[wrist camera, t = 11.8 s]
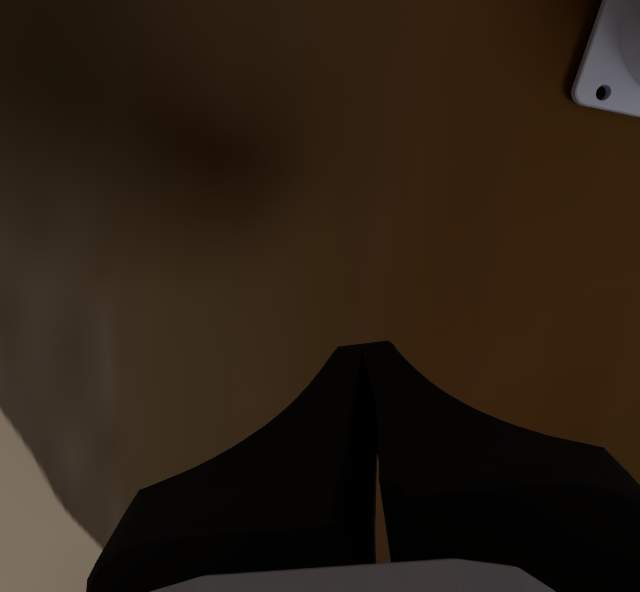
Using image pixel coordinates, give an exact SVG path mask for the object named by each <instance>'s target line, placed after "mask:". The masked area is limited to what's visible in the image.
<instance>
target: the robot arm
mask: <svg viewBox="0 0 640 592" xmlns="http://www.w3.org/2000/svg"><path fill="white" fill-rule="evenodd" d="M600 86H602V87H604V88H605V91H606V92H605V96H604V98H603V99H602V100H599V99H597V97H596V91H597V89H598V88H599V87H600ZM571 95H572V99H573V100H574V102H575V103H577V104H579V105H582V106H587V107H592V108H596V109H601V110H606V111H611V112H616V113H620V114H625V115H630V116H635V117H640V0H602V3H601V6H600V9H599V11H598V14H597V17H596V20H595V23H594V26H593V29H592V32H591V35H590V37H589V40H588V43H587V46H586V49H585V52H584V55H583V58H582V61H581V63H580V66H579V69H578V72H577V75H576V78H575V81H574V84H573V87H572V91H571ZM377 455H378V459H379V482H380V489H381V496H382V503H383V510H384V516H385V523H386V530H387V537H388V544H389V550H390V557H391V562H390V563H376V551H375V517H376V471H377ZM86 592H640V485H639V484H638V483H637V482H636V481H635V479H634V478H633V477H632V476H631V475H630V474H629V473H628V472H627V471H626V470H625V469H624V468H623V467H622V466H621V465H620V464H619V463H618V462H617V461H616V460H615V459H614V458H613V457H612V456H611V455H610V454H609V453H608V451H607V450H606V449H605V448H603V447H598V446H594V445H589V444H584V443H580V442H575V441H570V440H566V439H561V438H557V437H552V436H548V435H544V434H541V433H538V432H535V431H531V430H528V429H525V428H522V427H518V426H515V425H513V424H510V423H507V422H504V421H502V420H499V419H497V418H495V417H492V416H490V415H488V414H485V413H483V412H481V411H478V410H476V409H474V408H472V407H470V406H468V405H466V404H464V403H463V402H461V401H459V400H457V399H456V398H454V397H452V396H450V395H449V394H447V393H445V392H444V391H442V390H441V389H439V388H438V387H437V386H435V385H434V384H433V383H431V382H430V381H429V380H428V379H426V378H425V377H424V376H423V375H422V374H421V373H420V372H418V371H417V370H416V369H415V368H414V367H413V366H412V365H411V364H410V363H409V362H408V361H407V360H406V359H405V358H404V357H403V356H402V355H401V354H400V353H399V352H398V350H397V349H396V348H395V347H394V345H393V344H392V343H391V342H389V341H381V342H373V343H365V344H356V345H348V346H340V347H337V349H336V350H335V351H334V352H333V354H332V355H331V356H330V358H329V359H328V361H327V362H326V363H325V365H324V366H323V367H322V369H321V370H320V371H319V373H318V374H317V375H316V376H315V378H314V379H313V380H312V381H311V383H310V384H309V385H308V386H307V387H306V388H305V389H304V391H303V392H302V393H301V394H300V395H299V396H298V397H297V398H296V399H295V400H294V401H293V402H292V403H291V404H290V405H289V406H288V407H287V408H286V409H285V410H283V411H282V412H281V413H280V414H279V415H278V416H276V417H275V418H274V419H273V420H271V421H270V422H269V423H268V424H266V425H265V426H264V427H262V428H261V429H259V430H258V431H256V432H255V433H253V434H252V435H250V436H249V437H247V438H246V439H244V440H243V441H241V442H240V443H238V444H237V445H235V446H234V447H232V448H230V449H228V450H227V451H225V452H223V453H221V454H220V455H218V456H216V457H214V458H212V459H210V460H208V461H206V462H204V463H202V464H200V465H198V466H196V467H194V468H192V469H190V470H188V471H185V472H183V473H180V474H178V475H176V476H173V477H171V478H168V479H166V480H164V481H161V482H159V483H156V484H154V485H152V486H149V487H146V488H144V489H141V490H139V491H138V493H137V494H136V496H135V497H134V499H133V501H132V502H131V504H130V505H129V507H128V509H127V510H126V512H125V513H124V515H123V517H122V518H121V520H120V522H119V524H118V525H117V527H116V529H115V530H114V532H113V534H112V536H111V537H110V539H109V541H108V543H107V544H106V546H105V548H104V549H103V551H102V553H101V555H100V556H99V558H98V560H97V562H96V563H95V565H94V568H93V569H92V571H91V573H90V576H89V577H88V579H87V590H86Z"/></svg>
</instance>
